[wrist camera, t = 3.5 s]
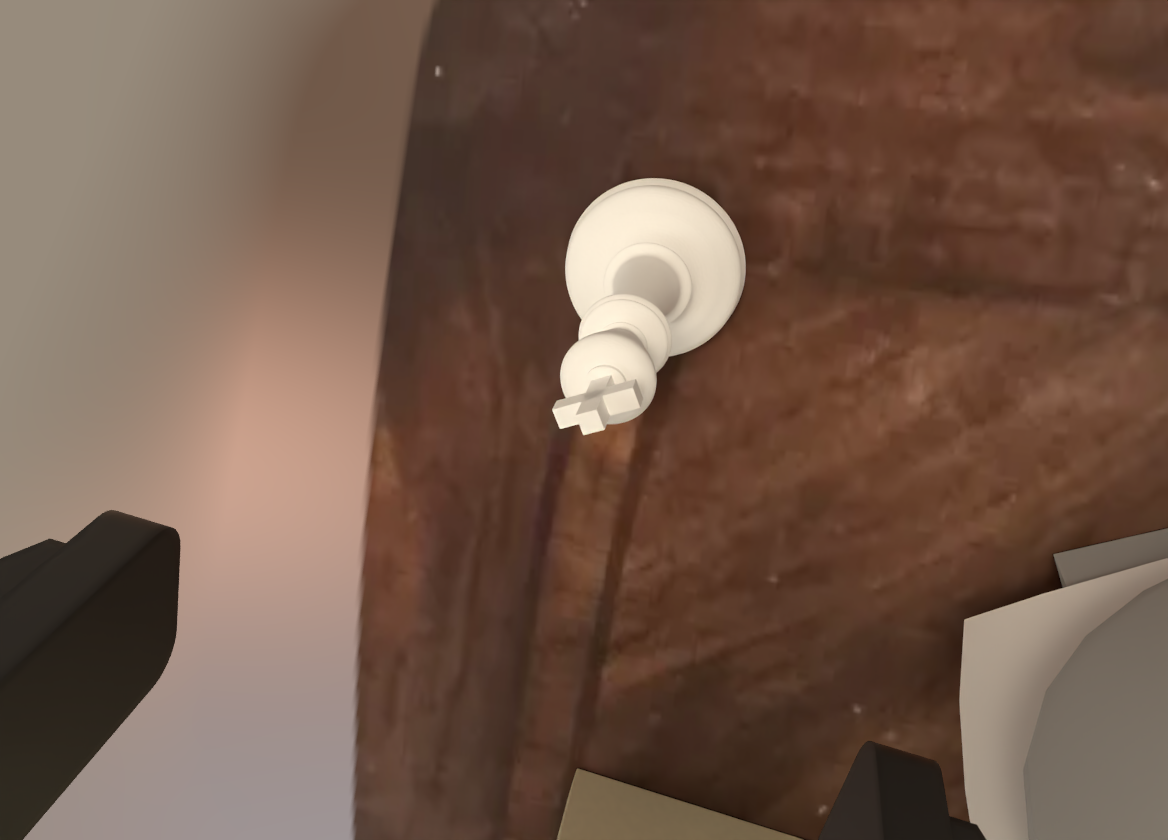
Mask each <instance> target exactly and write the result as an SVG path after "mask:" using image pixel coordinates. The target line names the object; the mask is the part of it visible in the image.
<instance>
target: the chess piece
mask: <svg viewBox="0 0 1168 840" xmlns="http://www.w3.org/2000/svg"><path fill="white" fill-rule="evenodd" d="M745 274H746V261H745V253H744V248H743V244H742V241H741V238H740V236H739V233H738V231H737V229H736V227H735V225H734V223H733V222H732V220H731V219H730V217H729V216H728V214H727V213H726V212H725V211H724V210H723V209H722V207H721V206H720V205H719V204H718V203H717V202H715V201H714V200H713V199H712V198H711V197H709V196H708V195H706V194H705V193H703V192H702V191H700V190H698V189H696V188H694V187H692V186H690V185H687V184H685V183H682V182H678V181H675V180H669V179H661V178H646V179H638V180H633V181H629V182H626V183H623V184H620V185H618V186H616V187H614V188H612V189H610V190H608V191H607V192H605V193H603V194H602V195H601V196H599V197H598V198H597V199H596V200H595V201H593V202H592V203H591V204H590V205H589V206H588V208H587V209H586V210H585V211H584V213H583V214H582V215H581V217H580V218H579V220H578V222H577V223H576V225H575V227H574V230H573V232H572V234H571V237H570V241H569V245H568V250H567V255H566V263H565V275H566V284H567V289H568V292H569V296H570V298H571V301H572V303H573V306H574V308H575V310H576V311H577V313H578V315H579V316H580V318H581V319H582V321H581V324H580V327H579V341H578V342H576V343H575V344H574V345H573V346H572V347H571V348H570V349H569V351H568V352H567V354H566V355H565V357H564V360H563V362H562V365H561V371H560V381H561V387H562V390H563V393H564V395H565V397H566V398H565V399H561V400H557V401H556V403H555V405H554V407H553V409H552V411H553V413H554V415H555V418H556V420H557V423H558V425H559V428H560V429H562V428H566V427H570V426H573V425H577V424H579V425H580V428H581V430H582V433H583V435H586V434H590V433H594V432H598V431H602V430H605V427H606V425H607V424H619V423H624V422H627V421H630V420H632V419H634V418H636V417H637V416H639V415H640V414H641V413H642V412H644V411H645V410H646V408H647V407H648V406H649V404H650V403H651V401H652V399H653V397H654V394H655V391H656V384H657V376H656V373H657V372H658V371H659V370H660V369H661V368H662V367H663V365H664V364H665V363H666V361H667V359H668V357H669V356H675V355H679V354H682V353H685V352H688V351H690V350H693V349H695V348H697V347H699V346H700V345H702V344H704V343H705V342H707V341H708V340H709V339H711V338H712V337H713V336H714V335H715V334H716V333H717V332H718V331H719V330H720V329H721V328H722V327H723V326H724V324H725V323H726V322H727V320H728V319H729V317H730V316H731V315H732V313H733V312H734V310H735V308H736V306H737V304H738V302H739V300H740V297H741V294H742V291H743V287H744V282H745Z"/></svg>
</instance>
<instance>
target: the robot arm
mask: <svg viewBox="0 0 1168 840" xmlns="http://www.w3.org/2000/svg"><path fill="white" fill-rule="evenodd" d="M179 565H180V538H179V534H178V532H177V531H176V529H174V528H171V527H168V526H164V525H161V524H158V523H155V522H151V521H148V520H145V519H142V518H138V517H135V516H132V515H128V514H125V513H122V512H119V511H114V510H110V511H107V512H105V513H102V514H101V515H100V516H98V517H97V518H96V519H95V520H93V522H91V523H90V524H89V525H87V526H86V527H85V528H84V529H83V530H81V531H80V532H79V533H78V534H77V535H76V536H74V537H73V538H72V539H71V540H70V541H68V542H67V543H62V542H59V541H56V540H53V539H48V540H45V541H43V542H41V543H38V544H36V545H33V546H30V547H28V548H25V549H23V550H20V551H18V552H16V553H13V554H11V555H8V556H6V557H3V558H1V559H0V840H23V839H24V837H25V836H26V835H27V834H28V833H29V832H30V830H31V829H32V828H33V827H34V826H35V824H36V823H37V822H38V821H39V820H40V819H41V818H42V816H43V815H44V814H45V813H46V812H47V810H48V809H49V808H50V807H51V806H52V805H53V804H54V802H55V801H56V800H57V799H58V797H59V796H60V795H61V794H62V793H63V792H64V791H65V790H66V788H67V787H68V786H69V785H70V784H71V782H72V781H73V780H74V779H75V778H76V777H77V775H78V774H79V773H80V772H81V771H82V769H83V768H84V767H85V766H86V765H87V764H88V763H89V761H90V760H91V759H92V758H93V757H94V755H95V754H96V753H97V752H98V751H99V750H100V749H101V747H102V746H103V745H104V744H105V742H106V741H107V740H108V739H109V738H110V737H111V736H112V734H113V733H114V732H115V731H116V730H117V729H118V727H119V726H120V725H121V724H122V723H123V722H124V720H125V719H126V718H127V717H128V716H129V715H130V713H131V712H132V711H133V710H134V709H135V708H136V706H137V705H138V704H139V703H140V702H141V700H142V699H143V698H144V697H145V696H146V695H147V694H148V692H149V691H150V690H151V689H152V688H153V686H154V685H155V684H156V682H157V681H158V679H159V678H160V676H161V675H162V673H163V671H164V669H165V667H166V665H167V663H168V661H169V658H170V656H171V653H172V650H173V646H174V643H175V638H176V631H177V611H178V588H179ZM818 840H986V838H985V837H984V835H983V833H982V832H981V830H980V829H979V827H978V825H976V824H973V823H970V822H967V821H963V820H960V819H957V818H954V817H950V816H949V813H948V807H947V801H946V795H945V789H944V783H943V777H942V773H941V769H940V766H939V764H938V763H937V762H936V761H934V760H931V759H928V758H924V757H921V756H918V755H915V754H911V753H908V752H905V751H901V750H898V749H895V748H891V747H888V746H885V745H881V744H878V743H875V742H872V741H867V742H866V743H865V744H864V745H863V746H862V747H861V749H860V750H859V752H858V754H857V756H856V758H855V761H854V763H853V765H852V767H851V769H850V771H849V773H848V776H847V778H846V780H845V782H844V784H843V786H842V788H841V791H840V793H839V795H838V797H837V799H836V801H835V803H834V806H833V808H832V810H831V812H830V814H829V816H828V818H827V821H826V823H825V825H824V827H823V829H822V831H821V834H820V836H819V839H818Z"/></svg>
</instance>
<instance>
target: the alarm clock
mask: <svg viewBox="0 0 1168 840" xmlns="http://www.w3.org/2000/svg"><path fill="white" fill-rule="evenodd" d="M1053 555H1054V559H1055V562H1056V566H1057V570H1058V573H1059V577H1060V580H1061V584H1062V587H1063V588H1061V589H1058V590H1054V591H1051V592H1047V593H1044V594H1040V595H1037V596H1034V597H1031V598H1028V599H1025V600H1022V601H1019V602H1016V603H1013V604H1010V605H1007V606H1004V607H1001V608H998V609H995V610H992V611H989V612H986V613H983V614H979V615H976V616H973V617H970V618H967V619H964V631H963V648H962V664H961V681H960V697H959V704H960V720H961V735H962V750H963V766H964V781H965V793H966V799H967V806H968V812H969V818H970V823H973V824H976V825H978V827H979V829H980V830H981V832H982V833H983V835H984V837H985V838H986V840H1168V528H1167V529H1162V530H1158V531H1154V532H1149V533H1145V534H1140V535H1136V536H1131V537H1127V538H1123V539H1118V540H1114V541H1109V542H1105V543H1101V544H1096V545H1092V546H1087V547H1083V548H1079V549H1074V550H1070V551H1065V552H1061V553H1057V554H1053Z"/></svg>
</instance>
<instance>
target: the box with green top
mask: <svg viewBox="0 0 1168 840" xmlns="http://www.w3.org/2000/svg"><path fill="white" fill-rule="evenodd" d="M557 840H804V839H800V838H797V837H794V836H791V835H788V834H784V833H781V832H778V831H775V830H772V829H769V828H765V827H762V826H759V825H756V824H753V823H750V822H746V821H743V820H740V819H737V818H734V817H731V816H727V815H724V814H721V813H718V812H715V811H711V810H708V809H705V808H702V807H699V806H696V805H692V804H689V803H686V802H683V801H680V800H677V799H673V798H670V797H667V796H664V795H661V794H658V793H654V792H651V791H648V790H645V789H642V788H638V787H635V786H632V785H629V784H626V783H623V782H619V781H616V780H613V779H610V778H607V777H604V776H600V775H597V774H594V773H591V772H588V771H585V770H581V769H577V770H576V773H575V776H574V779H573V782H572V785H571V789H570V792H569V795H568V799H567V803H566V807H565V810H564V814H563V818H562V822H561V826H560V830H559V833H558V837H557Z"/></svg>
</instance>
